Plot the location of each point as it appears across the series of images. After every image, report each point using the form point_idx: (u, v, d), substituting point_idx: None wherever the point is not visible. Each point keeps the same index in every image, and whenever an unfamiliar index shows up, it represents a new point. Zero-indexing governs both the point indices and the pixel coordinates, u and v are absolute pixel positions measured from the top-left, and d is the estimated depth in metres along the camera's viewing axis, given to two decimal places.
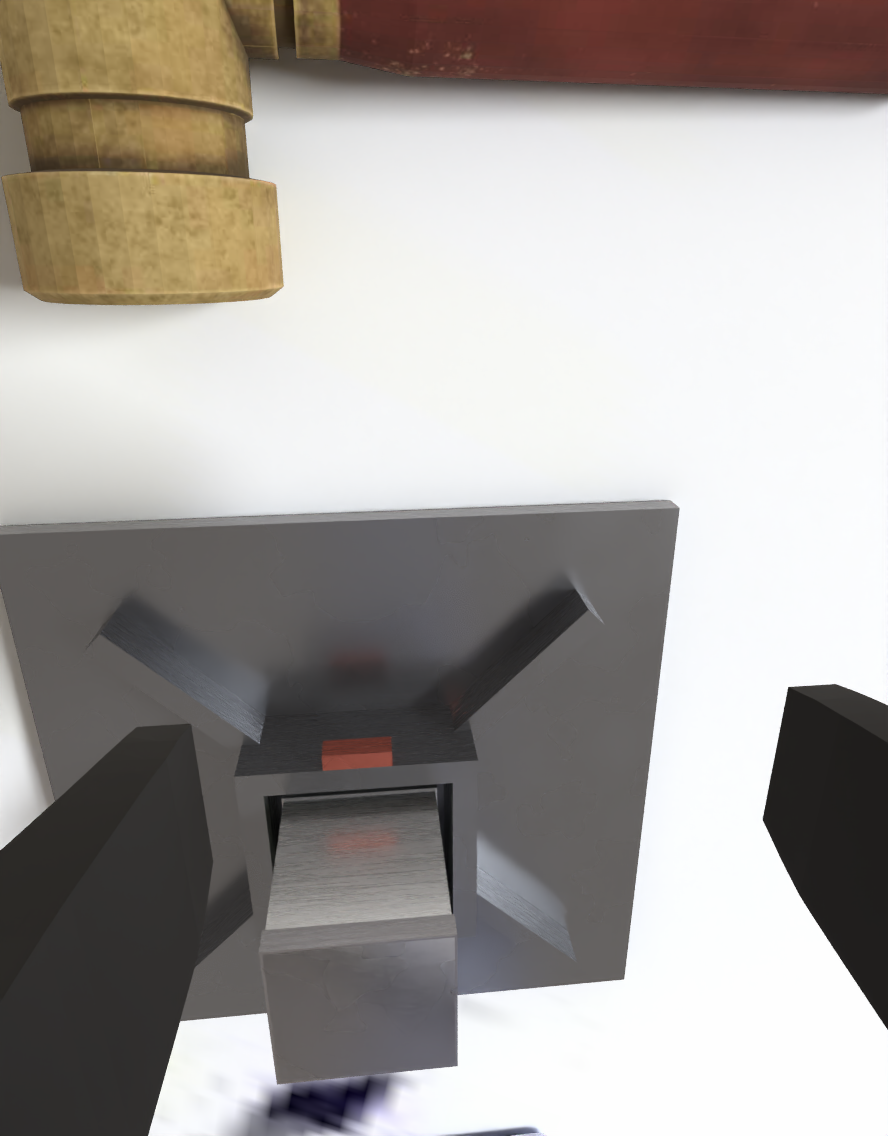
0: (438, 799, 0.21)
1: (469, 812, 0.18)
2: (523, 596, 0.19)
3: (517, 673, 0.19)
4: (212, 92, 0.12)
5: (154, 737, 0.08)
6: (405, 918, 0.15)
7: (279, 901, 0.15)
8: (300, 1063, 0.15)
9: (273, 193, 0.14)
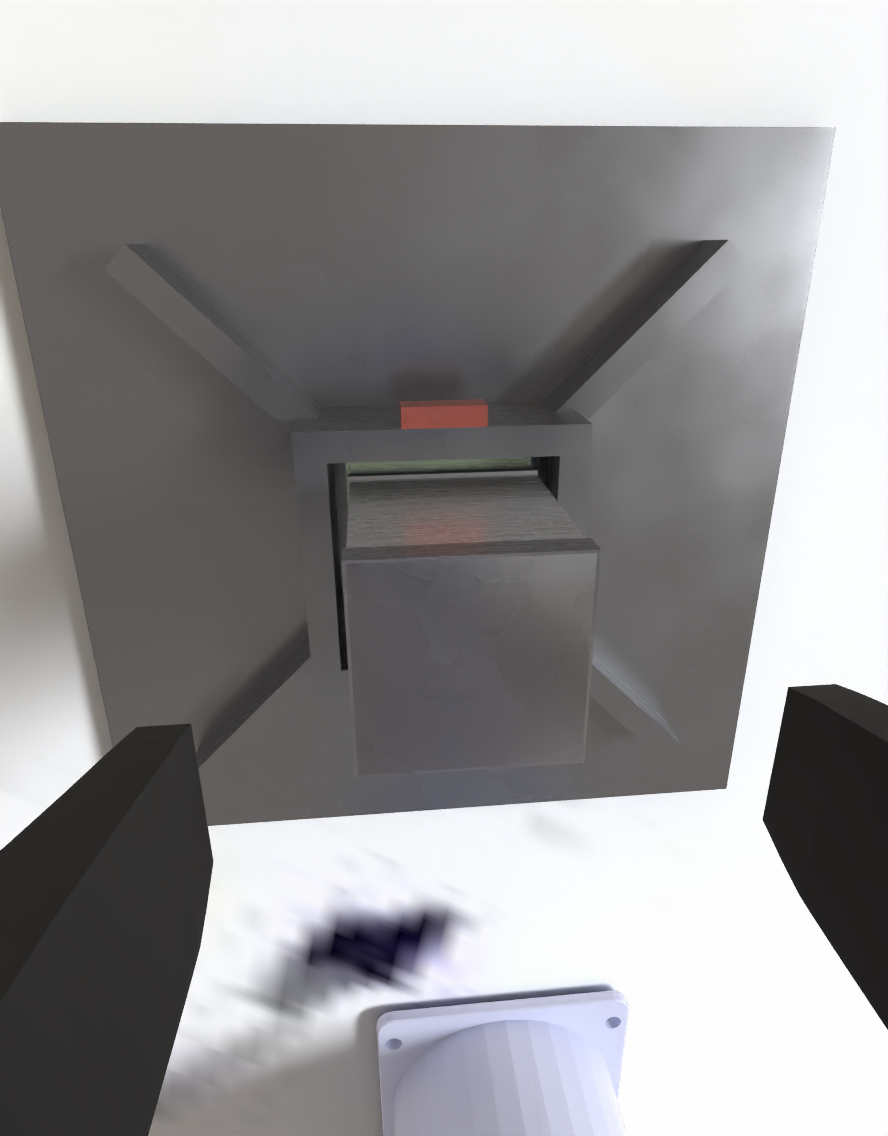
0: None
1: (577, 500, 0.15)
2: (639, 249, 0.16)
3: (636, 331, 0.15)
4: None
5: (155, 736, 0.08)
6: (527, 542, 0.11)
7: (360, 533, 0.12)
8: (386, 747, 0.12)
9: None
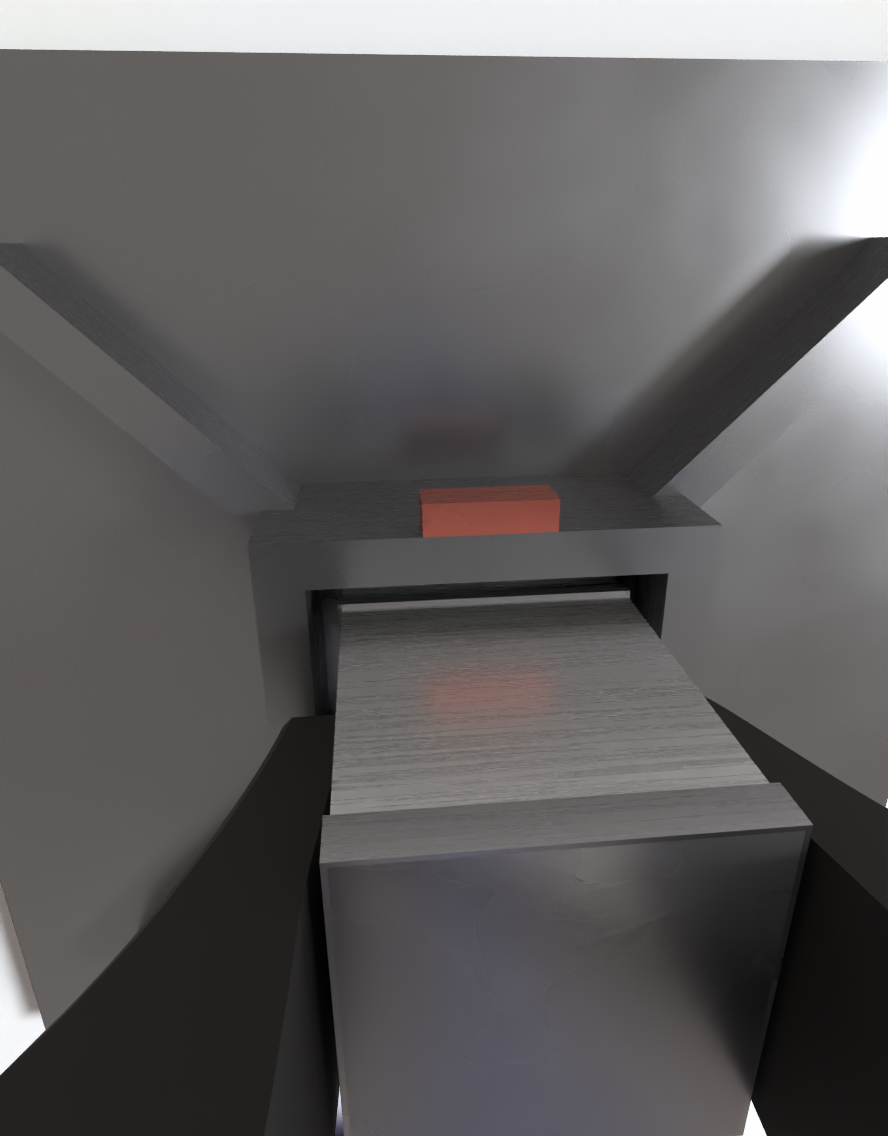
0: None
1: (691, 637, 0.10)
2: (777, 250, 0.10)
3: (780, 377, 0.10)
4: None
5: (317, 726, 0.08)
6: (664, 792, 0.06)
7: (356, 760, 0.07)
8: (404, 1135, 0.07)
9: None
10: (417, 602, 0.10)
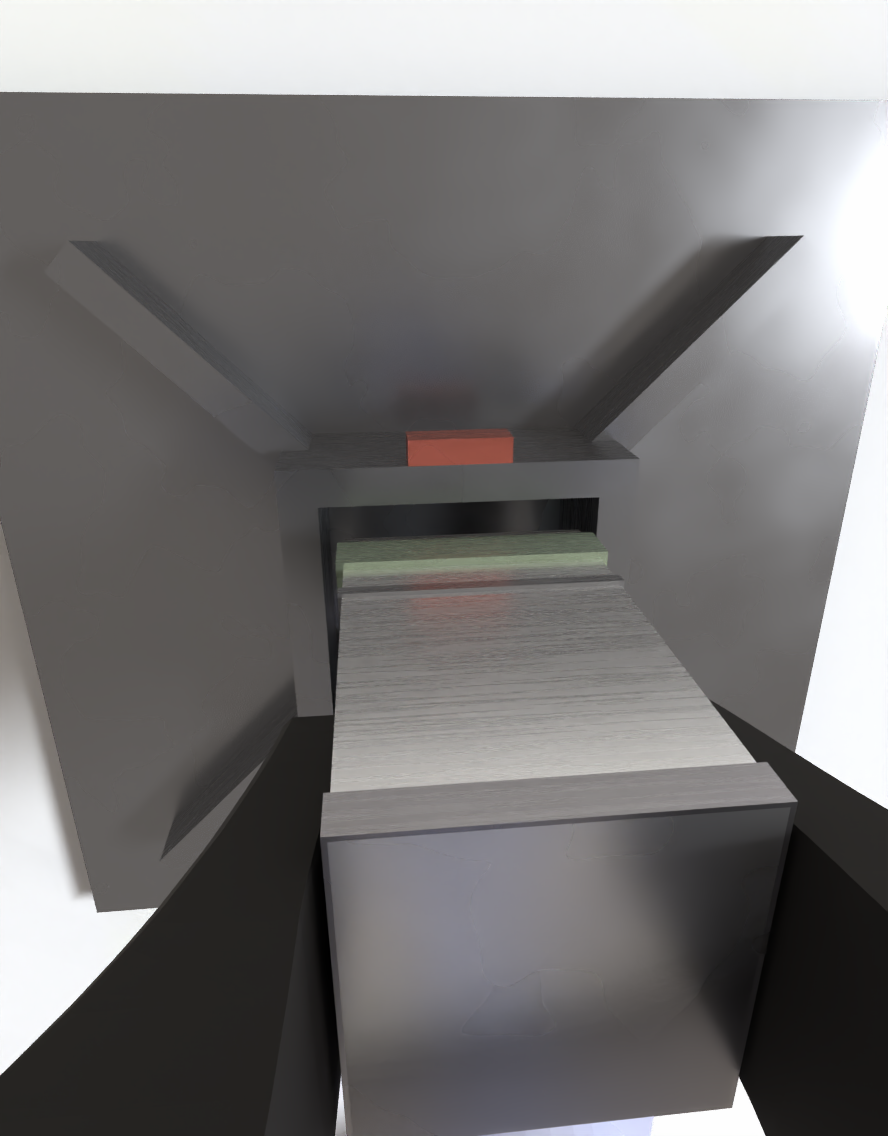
0: None
1: (619, 549, 0.12)
2: (691, 247, 0.13)
3: (689, 346, 0.13)
4: None
5: (316, 726, 0.08)
6: (655, 772, 0.06)
7: (356, 741, 0.07)
8: (403, 1107, 0.07)
9: None
10: (415, 592, 0.10)
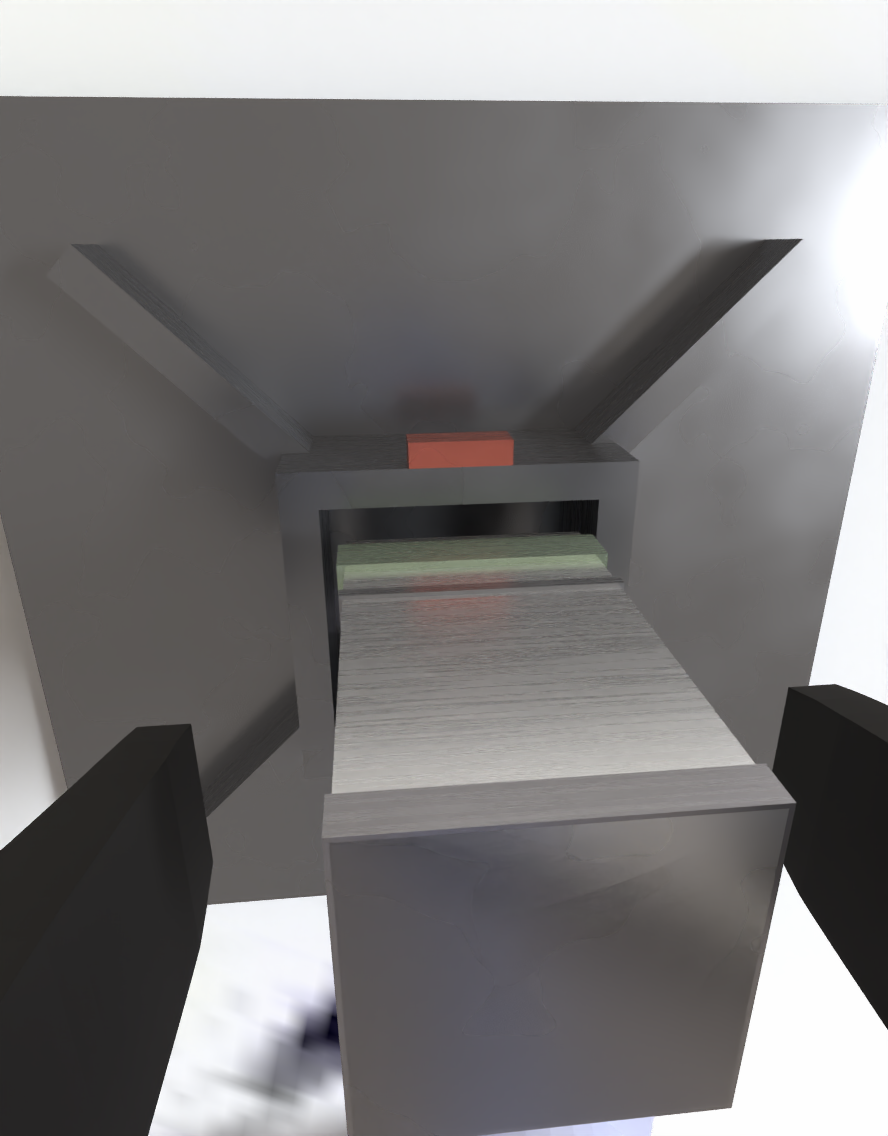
0: None
1: (619, 551, 0.12)
2: (690, 250, 0.13)
3: (689, 348, 0.13)
4: None
5: (155, 737, 0.08)
6: (654, 773, 0.06)
7: (357, 743, 0.07)
8: (403, 1106, 0.07)
9: None
10: (416, 594, 0.10)
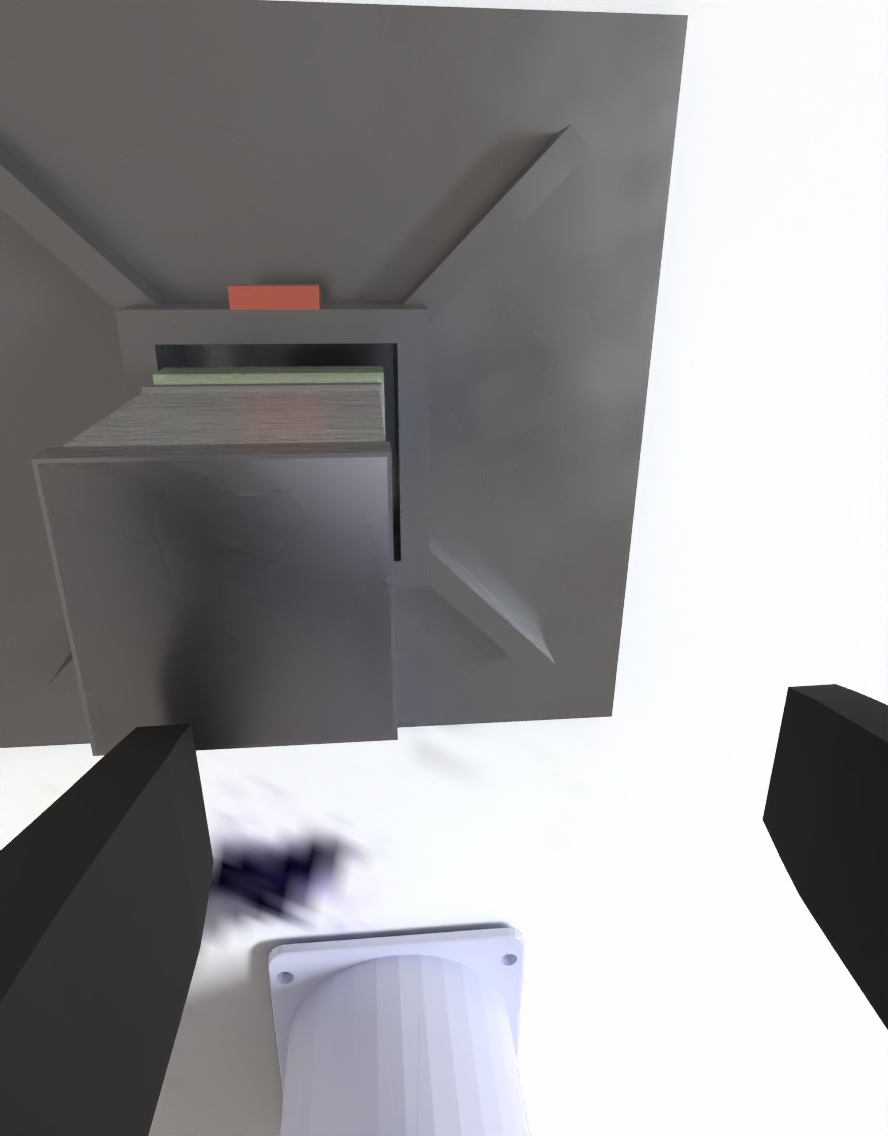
0: None
1: (419, 391, 0.15)
2: (491, 140, 0.15)
3: (481, 220, 0.15)
4: None
5: (154, 737, 0.08)
6: (305, 446, 0.09)
7: (95, 435, 0.09)
8: (130, 716, 0.09)
9: None
10: (208, 388, 0.12)
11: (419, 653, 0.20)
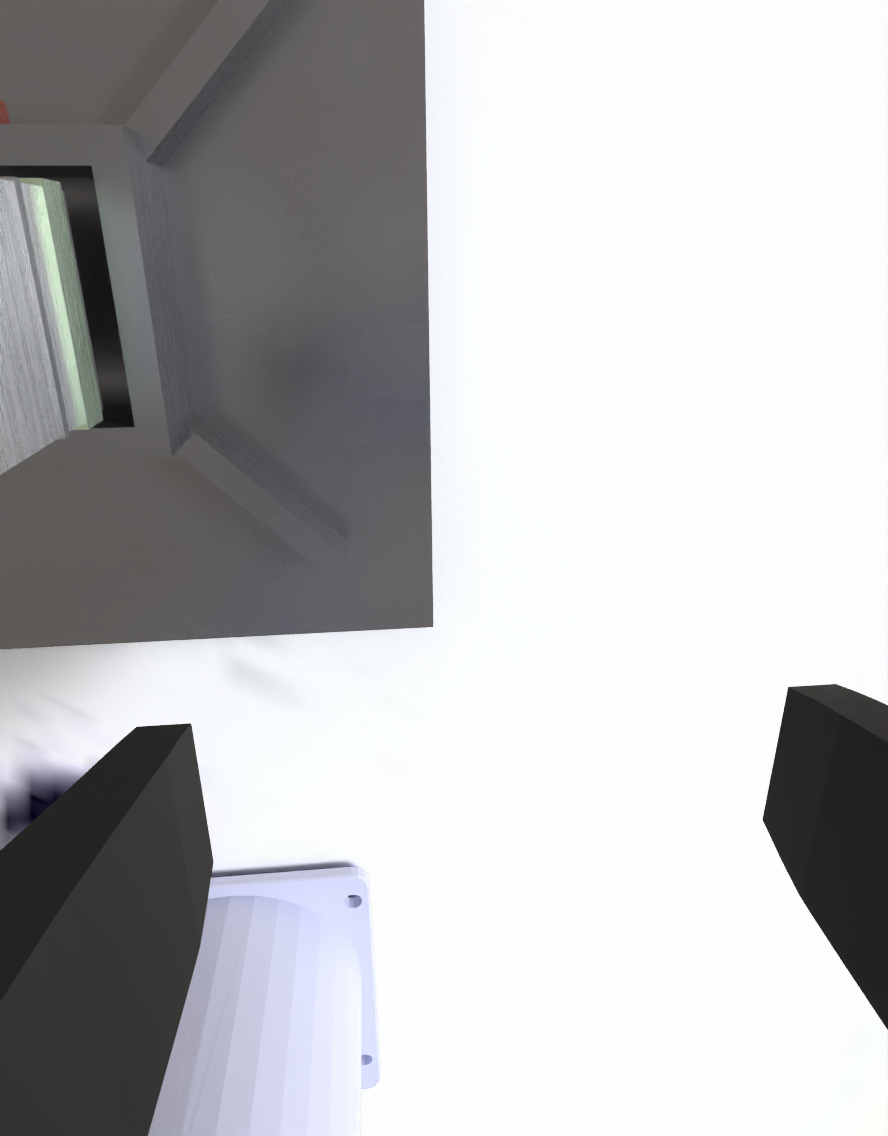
0: None
1: (125, 224, 0.13)
2: None
3: (194, 34, 0.13)
4: None
5: (155, 736, 0.08)
6: None
7: None
8: None
9: None
10: None
11: (210, 554, 0.18)
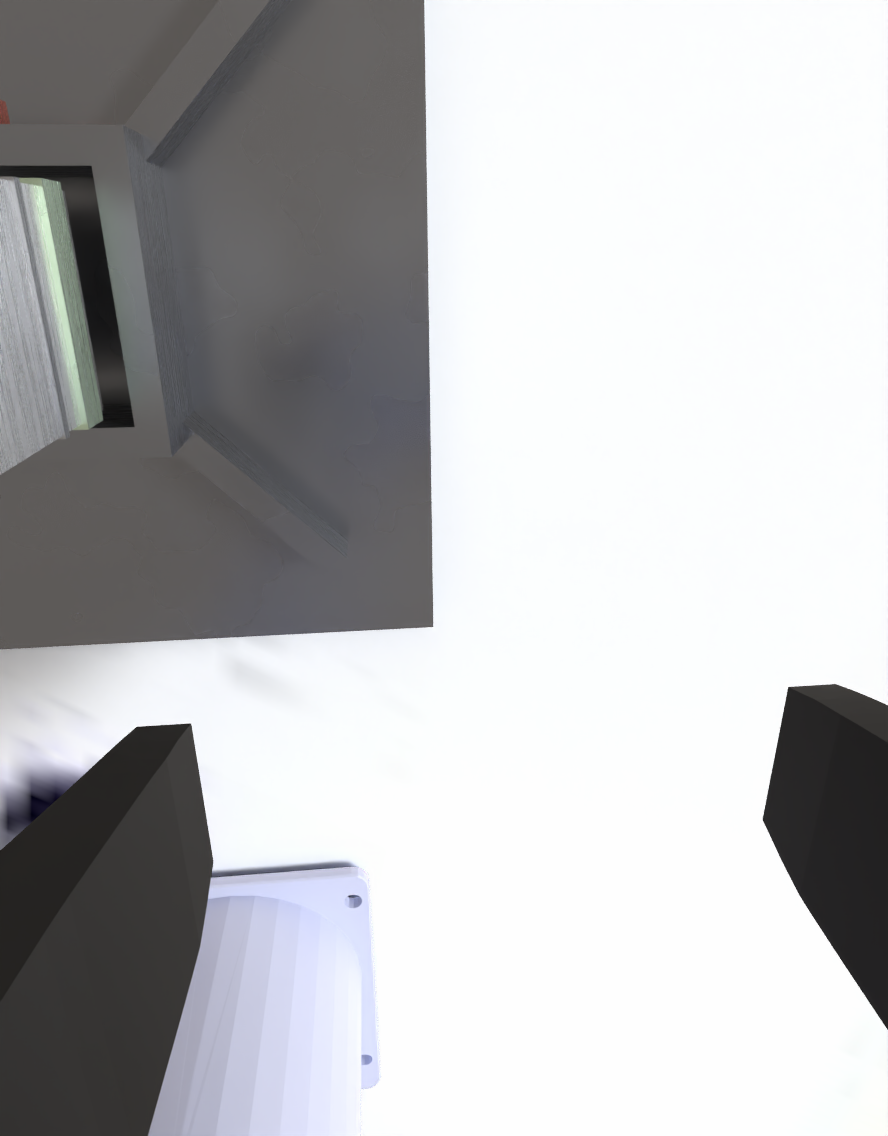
0: None
1: (125, 224, 0.13)
2: None
3: (194, 34, 0.13)
4: None
5: (155, 736, 0.08)
6: None
7: None
8: None
9: None
10: None
11: (210, 554, 0.18)
